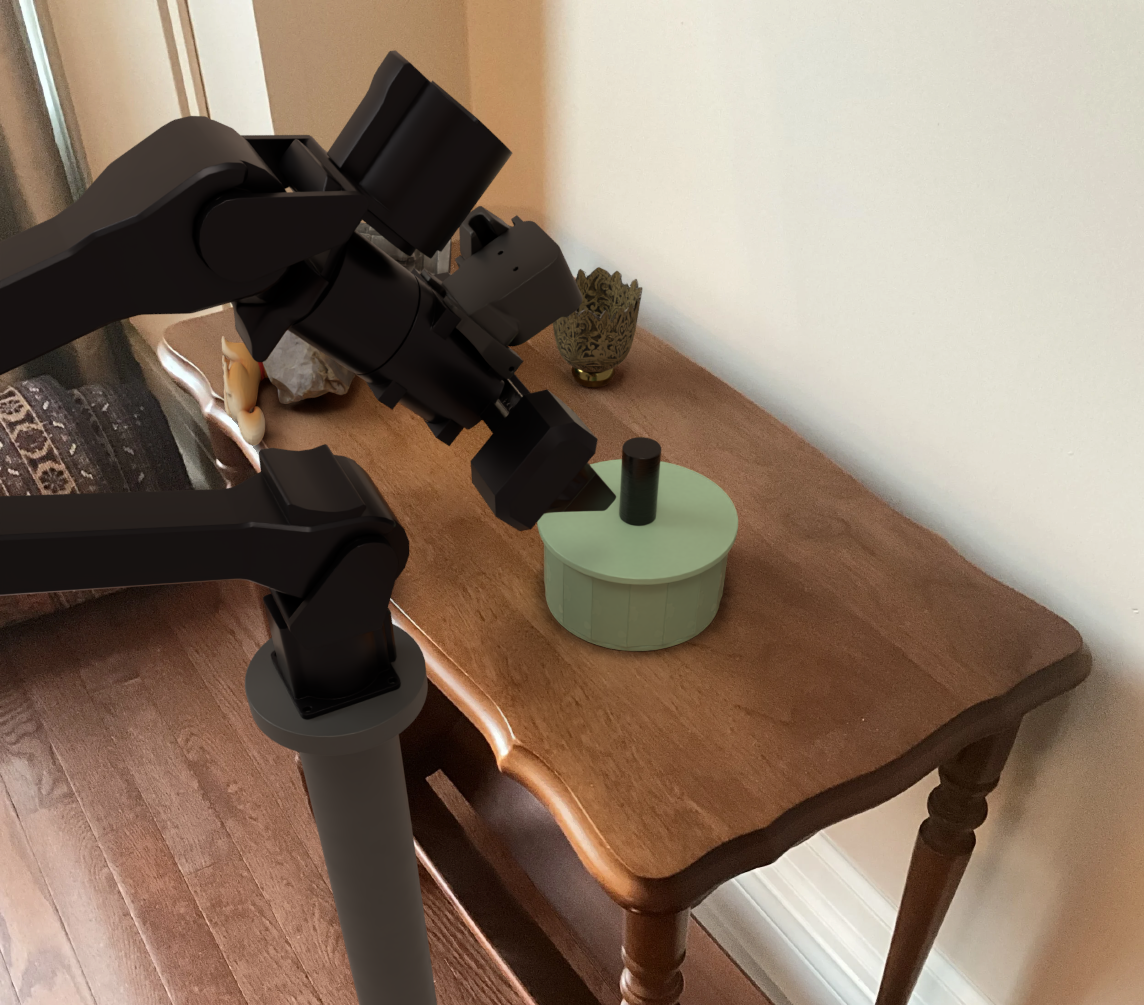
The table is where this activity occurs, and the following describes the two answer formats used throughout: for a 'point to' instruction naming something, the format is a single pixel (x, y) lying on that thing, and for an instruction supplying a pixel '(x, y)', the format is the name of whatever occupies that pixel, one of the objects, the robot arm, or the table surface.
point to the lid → (646, 522)
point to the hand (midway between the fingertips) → (576, 461)
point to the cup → (599, 327)
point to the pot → (632, 607)
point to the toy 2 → (418, 259)
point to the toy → (243, 390)
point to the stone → (304, 371)
